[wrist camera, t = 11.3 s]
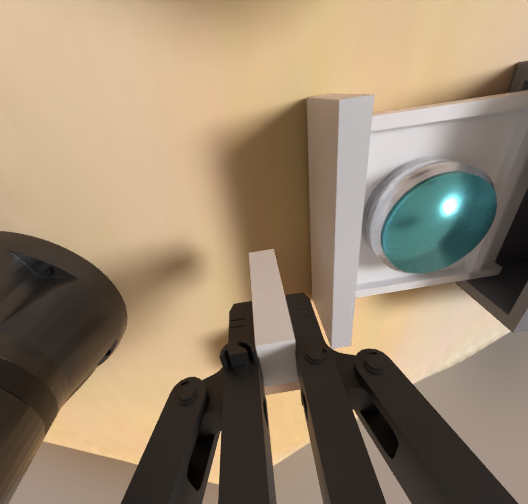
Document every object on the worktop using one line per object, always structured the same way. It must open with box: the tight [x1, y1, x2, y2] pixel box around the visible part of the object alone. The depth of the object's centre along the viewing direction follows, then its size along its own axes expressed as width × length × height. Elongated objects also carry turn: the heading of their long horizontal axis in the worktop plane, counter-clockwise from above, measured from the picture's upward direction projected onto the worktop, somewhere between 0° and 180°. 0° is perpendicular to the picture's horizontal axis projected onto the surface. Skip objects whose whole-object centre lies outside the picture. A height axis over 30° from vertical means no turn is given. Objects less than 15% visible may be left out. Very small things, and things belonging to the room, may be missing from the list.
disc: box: [362, 156, 497, 274], centre depth 18 cm, size 8×8×3 cm
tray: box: [307, 90, 528, 349], centre depth 18 cm, size 16×17×6 cm
